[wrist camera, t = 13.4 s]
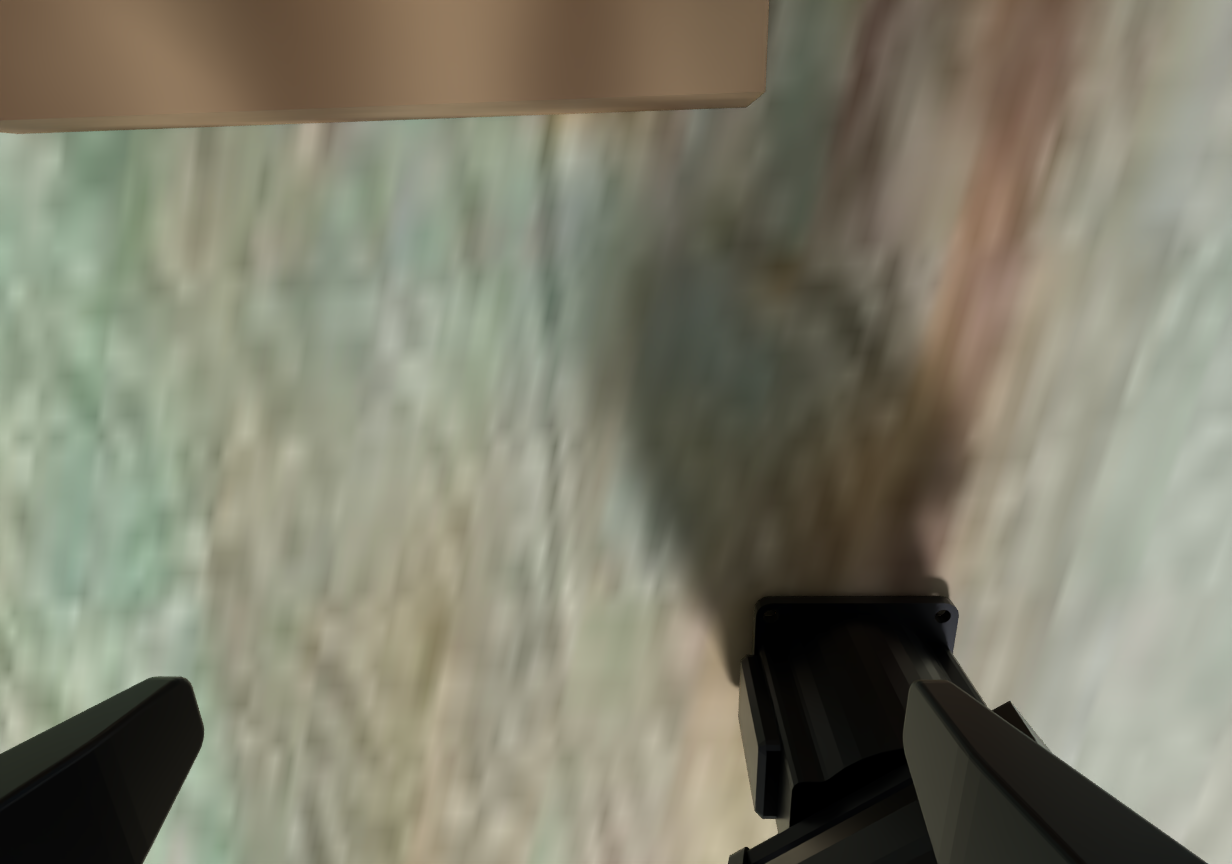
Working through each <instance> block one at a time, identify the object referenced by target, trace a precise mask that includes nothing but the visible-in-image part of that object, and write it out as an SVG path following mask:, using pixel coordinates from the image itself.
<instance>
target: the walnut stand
mask: <svg viewBox="0 0 1232 864" xmlns="http://www.w3.org/2000/svg"><path fill="white" fill-rule="evenodd" d="M768 14H769V0H0V132H4V133H15V134H25V133H53V132H80V131H108V130H135V129H163V128H190V127H218V126H245V125H273V124H300V123H328V122H355V121H383V120H410V119H438V118H465V117H493V116H520V115H548V114H575V113H603V112H630V111H658V110H685V109H713V108H740V107H748V106H749V105H750V104H751V103H752V102H754V101H755V100H756V99H757V98H758V97H760V96H761V95H762V94H763V93H764V92H765V89H766V64H767V39H768Z"/></svg>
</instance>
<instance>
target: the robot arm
mask: <svg viewBox="0 0 1232 864" xmlns="http://www.w3.org/2000/svg"><path fill="white" fill-rule="evenodd" d="M768 610H775V611H776V613H775V614H774V615H771V616H767V615H764V613H765V612H766V611H768ZM940 610H945V612H944V613H943V614H942V615H940V616H935V615H936V613H937V612H938V611H940ZM958 618H959V614H958V610H957V609H956V607H955V606H954V604H953V603H952V602H951V600H949V599H948V598H946V597H941V596H769V597H764V598H762V599H760V600H759V601H758V602H757V603H756V604H755V608H754V621H753V643H752V655H746V656H745V657H744V658H743V659H742V660H741V662H740V688H739V714H738V717H739V724H740V730H741V735H742V741H743V747H744V753H745V759H746V764H747V770H748V776H749V782H750V787H751V793H752V799H753V805H754V810H755V812H756V813H757V814H758V815H759V816H760V817H761V818H762V819H776V824H777V829H778V834H777V835H775V836H773V837H771V838H770V839H768V840H766V841H764V842H762V843H760V844H759V845H757V846H755V847H753V848H751V849H749V848H748V847H744V848H743V849H741V850H739V851H737V852H735V853H734V854H732V855H730V857H729V861H728V864H1208V863H1206V862H1205V861H1204V860H1202V859H1201V858H1199V857H1198V856H1196V855H1195V854H1194V853H1192V852H1191V851H1189V850H1188V849H1187V848H1185V847H1184V846H1182V845H1181V844H1179V843H1178V842H1177V841H1175V840H1174V839H1172V838H1171V837H1170V836H1168V835H1167V834H1165V833H1164V832H1163V831H1161V830H1160V829H1158V828H1157V827H1155V826H1154V825H1153V824H1151V823H1150V822H1148V821H1147V820H1146V819H1144V818H1143V817H1141V816H1140V815H1139V814H1137V813H1136V812H1134V811H1133V810H1131V809H1130V808H1129V807H1127V806H1126V805H1124V804H1123V803H1122V802H1120V801H1119V800H1117V799H1116V798H1114V797H1113V796H1112V795H1110V794H1109V793H1107V792H1106V791H1105V790H1103V789H1102V788H1100V787H1099V786H1098V785H1096V784H1095V783H1093V782H1092V781H1090V780H1089V779H1088V778H1086V777H1085V776H1083V775H1082V774H1081V773H1079V772H1078V771H1076V770H1075V769H1074V768H1072V767H1071V766H1069V765H1068V764H1066V763H1065V762H1064V761H1062V760H1061V759H1059V758H1058V757H1057V756H1055V755H1054V754H1052V752H1051V751H1050V750H1049V749H1048V747H1047V746H1046V745H1045V744H1044V742H1043V741H1042V740H1041V739H1040V737H1039V736H1038V735H1037V734H1036V732H1035V731H1034V730H1033V729H1032V728H1031V726H1030V725H1029V724H1028V723H1027V721H1026V720H1025V719H1024V718H1023V716H1022V715H1021V714H1020V713H1019V711H1018V710H1017V709H1016V708H1015V706H1014V705H1013V704H1012V703H1011V701H1008V702H1007V703H1005V704H1003V705H1001V706H999V707H997V708H996V709H994V710H990V709H989V708H988V707H987V705H986V704H985V702H984V701H983V699H982V698H981V696H980V695H979V693H978V692H977V690H976V689H975V687H974V686H973V684H972V683H971V681H970V680H969V678H968V677H967V675H966V674H965V672H964V671H963V669H962V667H961V666H960V664H959V663H958V661H957V660H956V658H955V657H954V655H953V648H954V642H955V636H956V630H957V624H958ZM203 738H204V726H203V722H202V718H201V715H200V711H199V708H198V705H197V701H196V698H195V694H194V691H193V687H192V685H191V683H190V682H189V681H188V680H187V679H186V678H183V677H164V676H158V677H152V678H148V679H146V680H144V681H142V682H140V683H138V684H136V685H134V686H132V687H130V688H129V689H127V690H125V691H123V692H121V693H119V694H117V695H115V696H113V697H111V698H109V699H107V700H105V701H103V702H101V703H99V704H97V705H95V706H93V707H91V708H89V709H87V710H85V711H83V712H82V713H80V714H78V715H76V716H74V717H72V718H70V719H68V720H66V721H64V722H62V723H60V724H58V725H56V726H54V727H52V728H50V729H48V730H46V731H44V732H42V733H40V734H38V735H37V736H35V737H33V738H31V739H29V740H27V741H25V742H23V743H21V744H19V745H17V746H15V747H13V748H11V749H9V750H7V751H5V752H3V753H1V754H0V864H143V862H144V860H145V858H146V856H147V854H148V852H149V851H150V849H151V847H152V845H153V843H154V841H155V839H156V837H157V835H158V833H159V831H160V829H161V827H162V825H163V823H164V821H165V819H166V817H167V815H168V813H169V811H170V809H171V807H172V805H173V803H174V801H175V799H176V797H177V795H178V793H179V791H180V789H181V787H182V785H183V783H184V781H185V779H186V777H187V775H188V773H189V771H190V769H191V767H192V765H193V763H194V761H195V759H196V757H197V755H198V753H199V751H200V749H201V746H202V743H203Z"/></svg>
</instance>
